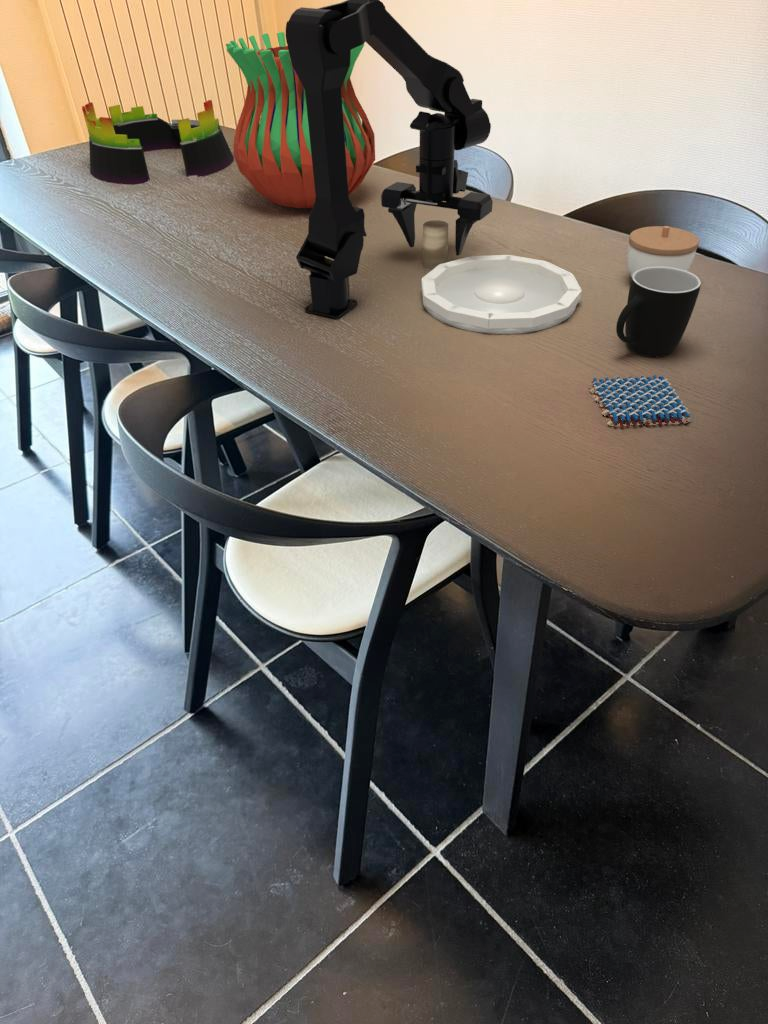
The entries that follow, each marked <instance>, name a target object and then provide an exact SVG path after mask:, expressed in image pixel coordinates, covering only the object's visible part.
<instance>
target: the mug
mask: <svg viewBox="0 0 768 1024" xmlns="http://www.w3.org/2000/svg"><path fill="white" fill-rule="evenodd" d="M700 279H701V278H699V277H698V276H697V275H696V274H695V273H693V272H690V271H685V270H682V269H678V268H673V267H662V266H656V267H647V268H642V269H640V270H637V271H636V272H635V273H634V274H633V275H632V277H631V279H630V284H629V288H628V295H627V301H626V302H627V303H626V305H625V307H623V309H622V310H621V312H620V314H619V315H618V318H617V321H616V327H615V330H616V335H617V337H618V339H619V340H620V341H621V342H623V343H626V344H627V347H628V348H629V350H630V351H632V352H633V353H636V354H638V355H641V356H644V357H649V356H650V357H651V358H659V357H658V356H661V357H664V355H665V356H668V355H669V353H670V354H671V353H672V352H673V351H675V349H676V348H677V347H678V345H679V344H680V341H681V340H682V338H683V336H684V333H685V331H686V329H687V327H688V324H689V323H690V319H691V317H692V314H693V312H694V308H695V306H696V302H697V300H698V296H699V294H700V291H701V290H700V288H701V286H702V285H701V284H702V283H701V280H700ZM624 330H625V331H624ZM624 332H625V333H624ZM667 354H668V355H667ZM656 356H657V357H656Z"/></svg>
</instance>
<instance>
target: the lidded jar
mask: <svg viewBox="0 0 768 1024" xmlns="http://www.w3.org/2000/svg"><path fill="white" fill-rule="evenodd" d="M699 244H700V239H699V237H698V236H697V235H696V234H694V233H692V232H690V231H688V230H685V229H682V228H678V227H672V226H669V225H664V226H660V225H659V226H658V225H656V226H655V225H653V226H651V225H650V226H644V227H640V228H637V229H635V230H632V231H631V232H630V234H629V237H628V246H627V251H626V253H627V254H626V266H627V270H628V273H629V275H630V277H631V278H632V275H633V274H634V273H635V272H636V271H637V270H640V269H642V268H647V267H656V266H662V267H673V268H678V269H682V270H685V271H688V272H690V271H689V270H690V268H691V267H692V265H693V262H694V259H695V257H696V253H697V249H698V247H699Z"/></svg>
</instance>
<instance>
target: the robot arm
mask: <svg viewBox="0 0 768 1024" xmlns="http://www.w3.org/2000/svg"><path fill="white" fill-rule="evenodd" d="M285 42H286V44H287V45H286V46H288V50H289V54H290V58H291V63H292V66H293V68H294V70H295V72H296V74H297V76H298V78H299V79H300V81H301V83H302V85H303V87H304V90H305V95H306V105H307V115H308V125H309V135H310V145H311V155H312V165H313V175H314V185H315V195H316V200H315V203H314V205H313V208H311V210H310V212H309V214H308V230H307V232H308V234H307V236H306V237H305V239H304V241H303V243H302V244H301V246H300V249H299V250H298V252H297V254H296V257H295V259H296V261H297V263H298V266H299V268H300V269H302V270H306V271H309V272H310V273H309V276H308V278H309V291H310V299H311V303H309V304H307V306H306V307H305V306H304V312H306V313H310V314H314V315H319V316H323V317H327V318H332V319H337V320H338V319H339V318H341V317H342V316H344V315H345V314H346V313H348V312H349V311H350V310H351V309H353V308H354V307H355V306H357V305H358V300H355V299H351V298H350V283H349V281H350V280H349V277H352V276H353V275H357V274H358V270H359V264H360V259H361V254H362V251H363V248H364V242H365V241H364V240H365V239H364V237H367V235H368V234H367V232H366V229H365V216H366V215H365V211H364V209H363V208H361V207H358V206H356V205H353V203H352V201H351V199H350V195H349V192H348V178H347V164H346V149H345V135H344V121H343V107H342V93H341V89H342V85H343V82H344V80H345V77H346V74H347V72H348V69H349V67H350V58H351V49H354V48H356V47H358V46H360V45H362V44H364V45H365V43H366V44H367V45H368V46H369V47H371V48H372V50H374V51H375V52H376V53H377V54H378V55H379V56H380V57H381V59H383V60H384V61H385V62H386V63H387V64H388V65H389V66H390V67H391V68H393V69H394V70H395V71H396V72H397V73H398V74H399V75H400V76H401V77H402V79H403V80H404V82H405V88H406V89H405V90H406V91H407V93H408V94H409V96H410V97H411V98H412V100H413V101H414V103H415V104H416V105H417V107H420V108H423V109H429V110H430V111H434V113H432V114H431V112H427V111H426V112H425V111H421V110H420V111H419V112H418V114H417V116H416V117H415V118H414V119H412V121H411V123H410V125H409V128H410V129H411V130H417V131H419V163H418V164H416V165H415V172H416V173H419V179H418V181H419V187H418V188H419V189H418V190H417V188H416V186H415V184H413V183H408V182H402V181H401V182H400V181H396V182H394V183H392V184H391V185H388V186H387V187H386V188H384V189H383V190H382V193H381V197H380V201H381V202H380V203H381V206H382V207H383V208H388V209H387V212H388V213H389V214H391V215H392V216H393V217H394V220H395V221H396V222H397V224H398V225H399V227H400V230H401V231H402V234H403V235H404V238H405V239H406V242H407V244H408V247H409V248H414V247H415V243H416V242H415V241H416V232H415V231H416V229H415V228H416V227H415V226H416V225H415V213H416V208H417V206H418V205H423V206H428V207H429V206H431V207H436V208H443V209H451V210H457V212H456V213H457V215H458V216H459V217H458V218H457V219H456V220H455V237H454V238H455V239H454V240H455V246H454V247H455V255H456V256H457V257H459V256H460V255H462V251H463V249H464V246H465V243H466V241H467V238H468V236H469V233H470V231H471V230H472V227H473V225H474V224H476V223H477V222H479V221H481V220H483V219H484V218H485V217H486V216H488V215H489V214H490V213H492V212H493V203H494V202H493V200H492V197H491V195H490V194H488V193H482V192H476V191H475V192H474V191H470V192H469V193H468V194H466V195H464V196H463V197H459V196H454V195H457V194H459V193H460V192H461V193H462V192H463V193H465V192H466V187H467V182H468V177H469V172H468V171H465V170H461V169H458V167H459V166H458V165H459V164H458V159H455V151H461V150H463V149H467V148H471V147H474V146H477V145H481V144H483V143H485V142H486V141H487V139H488V138H489V136H490V134H491V129H492V128H491V127H492V125H491V122H490V117H489V115H488V113H487V111H486V110H485V108H483V100H481V99H477V98H470V96H469V93H468V91H467V89H466V85H465V84H464V80H465V79H464V76H463V75H462V73H461V71H460V70H458V69H457V68H456V67H454V66H452V65H450V64H449V63H447V62H446V61H443V60H440V59H438V58H435V57H434V56H432V55H431V54H429V53H428V52H427V51H426V50H425V49H424V48H423V47H422V46H421V45H420V44H419V42H417V41H416V40H415V39H414V38H413V37H412V35H411V34H409V32H407V30H406V29H405V28H404V26H402V25H401V24H400V23H399V22H398V21H397V19H395V18H394V17H393V15H392V14H391V13H390V12H389V11H388V10H387V9H386V6H385V5H384V3H383V2H382V1H381V0H344V1H341V2H339V3H334V4H330V5H325V6H323V7H318V8H314V7H299V8H296V9H295V11H294V12H292V13H291V15H290V17H289V19H288V20H287V21H286V25H285ZM435 112H436V113H435ZM439 112H440V113H439Z"/></svg>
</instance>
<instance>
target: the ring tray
mask: <svg viewBox="0 0 768 1024" xmlns="http://www.w3.org/2000/svg"><path fill="white" fill-rule="evenodd" d="M420 283H421V294H422V304H423V308H424V309H425V311H427V312H428V313H429V315H431V316H432V317H433V318H435V319H437V320H438V321H440V322H441V323H444V324H446V325H447V326H448V325H449V326H451V327H454V328H457V329H460V330H461V329H462V330H464V331H468V332H473V333H474V332H475V333H479V334H480V333H482V334H489V335H491V334H493V335H494V334H495V335H516V334H528V333H532V332H539V331H543V330H546V329H551V328H552V327H555V326H557V325H559V324H562V323H564V322H565V321H566V320H568V319H570V317H571V316H572V315H573V314H575V311H576V309H577V304H578V303H579V302H580V301H581V299H582V298H581V297H582V291H583V290H582V288H581V286H580V284H579V282H578V281H577V279H576V277H575V275H574V274H573V273H571V272H570V271H568V270H566V269H563V268H561V267H559V266H557V265H555V264H553V263H551V262H549V261H547V260H543V259H542V260H541V259H536V258H530V257H525V256H518V255H512V254H496V255H495V254H493V255H470V256H467V257H462V258H457V259H455V260H451V261H447V263H443V264H439V265H438V266H437V267H435V268H434V269H431V271H429V272H428V273H426V275H424V276H422V278H421V281H420Z"/></svg>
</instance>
